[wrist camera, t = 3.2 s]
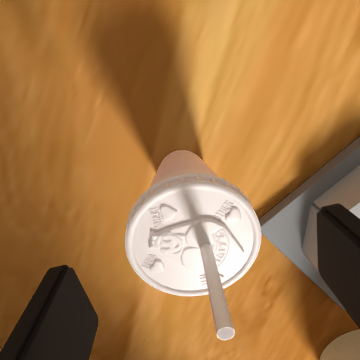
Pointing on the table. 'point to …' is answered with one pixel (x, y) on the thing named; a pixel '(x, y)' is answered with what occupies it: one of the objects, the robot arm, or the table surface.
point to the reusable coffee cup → (343, 347)
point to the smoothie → (193, 234)
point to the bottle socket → (314, 211)
